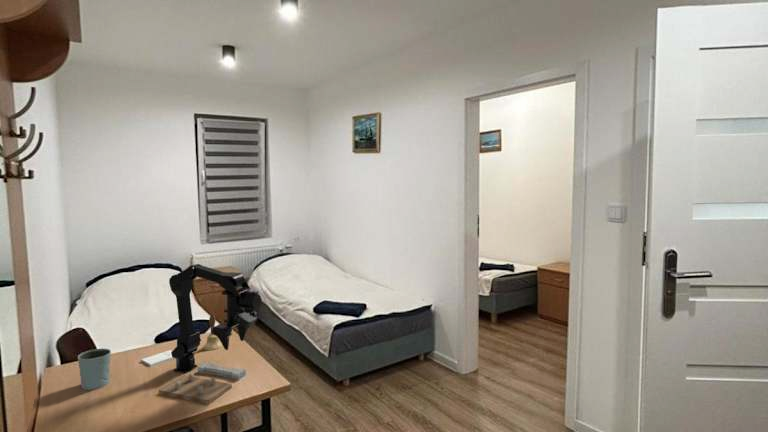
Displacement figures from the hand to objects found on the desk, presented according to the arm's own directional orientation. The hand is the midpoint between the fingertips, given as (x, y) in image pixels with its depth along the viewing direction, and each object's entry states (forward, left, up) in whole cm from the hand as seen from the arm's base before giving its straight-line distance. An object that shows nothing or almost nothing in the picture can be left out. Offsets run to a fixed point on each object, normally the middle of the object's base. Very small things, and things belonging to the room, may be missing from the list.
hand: (234, 345), depth 162 cm
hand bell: (-29, +22, -13) cm, 39 cm away
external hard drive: (-41, +4, -14) cm, 43 cm away
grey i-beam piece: (-7, +1, -13) cm, 15 cm away
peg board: (-7, -13, -13) cm, 20 cm away
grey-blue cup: (-46, -21, -13) cm, 52 cm away
